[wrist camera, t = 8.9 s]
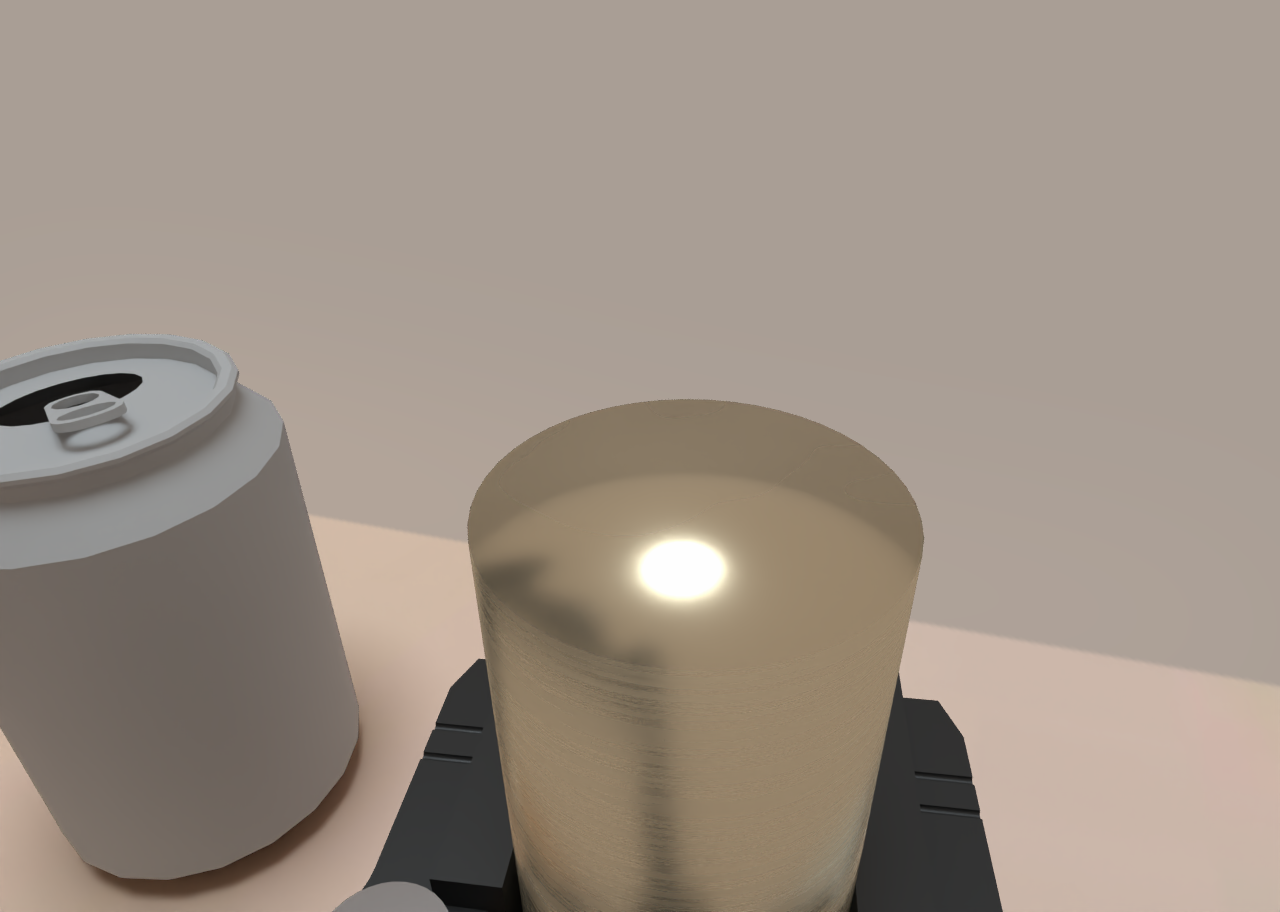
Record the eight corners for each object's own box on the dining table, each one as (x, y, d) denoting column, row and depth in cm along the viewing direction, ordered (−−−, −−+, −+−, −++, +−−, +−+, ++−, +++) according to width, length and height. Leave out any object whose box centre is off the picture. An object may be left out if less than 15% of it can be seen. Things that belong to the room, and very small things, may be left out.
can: (299, 636, 29) (196, 290, 22) (414, 778, 24) (325, 390, 17) (41, 765, 24) (-177, 382, 18) (119, 968, 20) (-142, 548, 13)
